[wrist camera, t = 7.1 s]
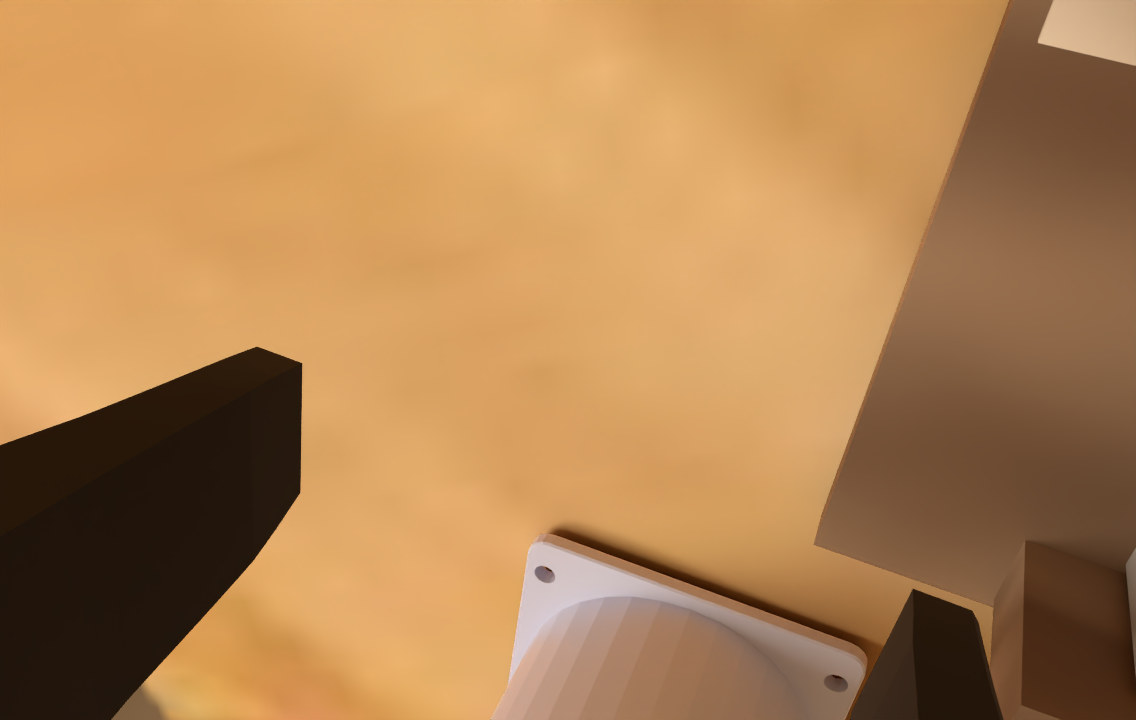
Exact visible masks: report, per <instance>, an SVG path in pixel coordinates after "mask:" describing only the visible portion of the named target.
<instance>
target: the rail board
mask: <svg viewBox="0 0 1136 720" xmlns="http://www.w3.org/2000/svg"><path fill="white" fill-rule="evenodd" d="M814 545H816V546H819V547H822V548H825V549H827V550H830V551H833V552H836V553H839V554H842V555H845V556H848V557H851V558H853V559H856V560H859V561H862V562H865V563H868V564H871V565H874V566H876V567H879V568H882V569H885V570H888V571H891V572H894V573H897V574H899V575H902V576H905V577H908V578H911V579H914V580H917V581H920V582H922V583H925V584H928V585H931V586H934V587H937V588H940V589H943V590H945V591H948V592H951V593H954V594H957V595H960V596H963V597H966V598H968V599H971V600H974V601H977V602H980V603H983V604H986V605H989V606H991V607H994V609H993V627H992V645H991V663H990V673H991V677H992V681H993V684H994V688H995V692H996V695H997V699H998V702H999V706H1000V709H1001V713H1002V716H1003V719H1004V720H1136V0H1009V3H1008V6H1007V9H1006V11H1005V14H1004V17H1003V20H1002V22H1001V25H1000V28H999V31H998V33H997V36H996V39H995V41H994V44H993V47H992V50H991V52H990V55H989V58H988V61H987V63H986V66H985V69H984V72H983V74H982V77H981V80H980V83H979V85H978V88H977V91H976V93H975V96H974V99H973V102H972V104H971V107H970V110H969V113H968V115H967V118H966V121H965V124H964V126H963V129H962V132H961V135H960V137H959V140H958V143H957V146H956V148H955V151H954V154H953V156H952V159H951V162H950V165H949V167H948V170H947V173H946V176H945V178H944V181H943V184H942V187H941V189H940V192H939V195H938V198H937V200H936V203H935V206H934V208H933V211H932V214H931V217H930V219H929V222H928V225H927V228H926V230H925V233H924V236H923V239H922V241H921V244H920V247H919V250H918V252H917V255H916V258H915V260H914V263H913V266H912V269H911V271H910V274H909V277H908V280H907V282H906V285H905V288H904V291H903V293H902V296H901V299H900V302H899V304H898V307H897V310H896V312H895V315H894V318H893V321H892V323H891V326H890V329H889V332H888V334H887V337H886V340H885V343H884V345H883V348H882V351H881V354H880V356H879V359H878V362H877V364H876V367H875V370H874V373H873V375H872V378H871V381H870V384H869V386H868V389H867V392H866V395H865V397H864V400H863V403H862V406H861V408H860V411H859V414H858V416H857V419H856V422H855V425H854V427H853V430H852V433H851V436H850V438H849V441H848V444H847V447H846V449H845V452H844V455H843V458H842V460H841V463H840V466H839V468H838V471H837V474H836V477H835V479H834V482H833V485H832V488H831V490H830V493H829V496H828V499H827V501H826V504H825V507H824V510H823V512H822V515H821V519H820V523H819V527H818V531H817V534H816V538H815V542H814Z"/></svg>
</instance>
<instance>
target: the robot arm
mask: <svg viewBox="0 0 1136 720" xmlns="http://www.w3.org/2000/svg"><path fill="white" fill-rule="evenodd" d="M301 411H302V363H300V362H297V361H294V360H292V359H289V358H286V357H284V356H281V355H278V354H275V353H273V352H270V351H267V350H265V349H262V348H259V347H255V348H252V349H250V350H247V351H244V352H241V353H238V354H236V355H233V356H231V357H228V358H226V359H223V360H220V361H218V362H215V363H213V364H211V365H208V366H206V367H203V368H201V369H198V370H196V371H193V372H191V373H188V374H186V375H184V376H181V377H179V378H176V379H174V380H171V381H169V382H167V383H164V384H162V385H159V386H157V387H154V388H152V389H149V390H147V391H144V392H142V393H139V394H137V395H134V396H132V397H129V398H127V399H124V400H122V401H119V402H117V403H114V404H112V405H109V406H107V407H104V408H102V409H99V410H97V411H94V412H92V413H89V414H86V415H84V416H81V417H79V418H76V419H73V420H70V421H67V422H64V423H62V424H59V425H56V426H53V427H50V428H47V429H45V430H42V431H39V432H36V433H33V434H31V435H28V436H25V437H22V438H19V439H16V440H14V441H11V442H8V443H5V444H2V445H0V720H111V719H112V718H113V717H114V715H115V714H116V713H117V712H118V711H119V710H120V708H121V707H122V706H123V705H124V704H125V702H126V701H127V700H128V699H129V698H130V697H131V696H132V694H133V693H134V692H135V691H136V690H137V689H138V688H139V687H140V686H141V685H142V683H143V682H144V681H145V680H146V679H147V678H148V677H149V676H150V675H151V674H152V673H153V671H154V670H155V669H156V668H157V667H158V666H159V665H160V664H161V663H162V662H163V660H164V659H165V658H166V657H167V656H168V655H169V654H170V653H171V652H172V651H173V649H174V648H175V647H176V646H177V645H178V644H179V643H180V642H181V641H182V640H183V639H184V637H185V636H186V635H187V634H188V633H189V632H190V631H191V630H192V629H193V628H194V626H195V625H196V624H197V623H198V622H199V621H200V620H201V619H202V618H203V617H204V615H205V614H206V613H207V612H208V611H209V610H210V609H211V608H212V607H213V606H214V604H215V603H216V602H217V601H218V600H219V599H220V598H221V597H222V595H223V594H224V593H225V592H226V591H227V590H228V589H229V588H230V587H231V585H232V584H233V583H234V582H235V581H236V580H237V579H238V578H239V577H240V575H241V574H242V573H243V572H244V571H245V570H246V568H247V567H248V566H249V565H250V564H251V563H252V562H253V560H254V559H255V558H256V556H257V555H258V554H259V552H260V551H261V549H262V548H263V547H264V545H265V544H266V542H267V541H268V540H269V538H270V537H271V535H272V534H273V533H274V531H275V530H276V528H277V527H278V525H279V524H280V522H281V521H282V519H283V518H284V516H285V515H286V513H287V512H288V510H289V509H290V507H291V506H292V504H293V503H294V501H295V500H296V498H297V497H298V495H299V494H300V480H301ZM543 566H545V567H548V568H549V569H551V570H552V571H553V572H551V571H548V570H546V569H545V568H544V567H543ZM867 660H868V659H867V657H866V655H865V653H864V652H863V651H862V650H861V649H860V648H859V647H858V646H856V645H854V644H852V643H850V642H847V641H845V640H842V639H839V638H836V637H834V636H831V635H828V634H825V633H823V632H820V631H817V630H814V629H812V628H809V627H806V626H803V625H801V624H798V623H795V622H792V621H790V620H787V619H784V618H781V617H779V616H776V615H773V614H771V613H768V612H765V611H762V610H760V609H757V608H754V607H751V606H749V605H746V604H743V603H740V602H738V601H735V600H732V599H729V598H727V597H724V596H721V595H718V594H716V593H713V592H710V591H707V590H705V589H702V588H699V587H697V586H694V585H691V584H688V583H686V582H683V581H680V580H677V579H675V578H672V577H669V576H666V575H664V574H661V573H658V572H655V571H653V570H650V569H647V568H644V567H642V566H639V565H636V564H633V563H631V562H628V561H625V560H622V559H620V558H617V557H614V556H612V555H609V554H606V553H603V552H601V551H598V550H595V549H592V548H590V547H587V546H584V545H581V544H579V543H576V542H573V541H570V540H568V539H565V538H562V537H559V536H557V535H553V534H548V533H547V534H540V535H539V536H537V537H536V538H535V540H534V541H533V543H532V545H531V547H530V549H529V551H528V557H527V564H526V570H525V577H524V583H523V590H522V596H521V603H520V609H519V616H518V622H517V629H516V635H515V642H514V649H513V655H512V662H511V668H510V675H509V681H508V686H507V688H506V690H505V692H504V694H503V696H502V698H501V700H500V702H499V703H498V705H497V707H496V709H495V711H494V713H493V715H492V717H491V719H490V720H845V719H846V717H847V715H848V712H849V710H850V708H851V706H852V703H853V701H854V699H855V697H856V695H857V692H858V690H859V688H860V686H861V684H862V681H863V679H864V677H865V673H866V667H867ZM831 675H837V676H840V677H842V678H844V679H838V678H835V677H833V676H831ZM850 720H1004V719H1003V716H1002V713H1001V709H1000V706H999V702H998V699H997V695H996V692H995V688H994V684H993V681H992V677H991V673H990V669H989V665H988V661H987V657H986V653H985V649H984V645H983V641H982V637H981V632H980V628H979V623H978V621H977V619H976V617H975V615H974V613H973V611H972V610H969V609H966V608H963V607H961V606H958V605H955V604H953V603H950V602H947V601H944V600H942V599H939V598H936V597H934V596H931V595H928V594H926V593H923V592H920V591H917V590H915V589H913V590H912V592H911V594H910V596H909V598H908V600H907V602H906V604H905V606H904V608H903V610H902V612H901V614H900V616H899V618H898V620H897V622H896V624H895V626H894V628H893V630H892V632H891V634H890V636H889V638H888V640H887V642H886V644H885V646H884V648H883V650H882V652H881V654H880V656H879V658H878V660H877V662H876V664H875V666H874V668H873V670H872V672H871V674H870V676H869V678H868V680H867V682H866V684H865V686H864V688H863V690H862V692H861V694H860V696H859V698H858V700H857V702H856V704H855V706H854V708H853V710H852V714H851V718H850Z"/></svg>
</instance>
